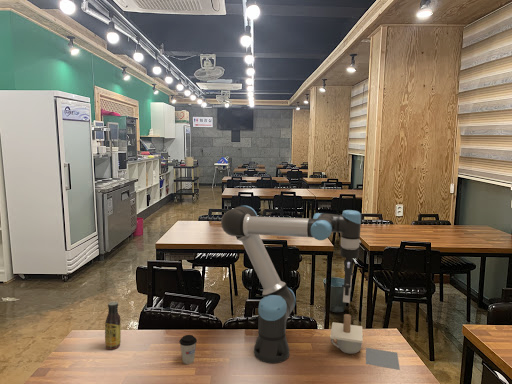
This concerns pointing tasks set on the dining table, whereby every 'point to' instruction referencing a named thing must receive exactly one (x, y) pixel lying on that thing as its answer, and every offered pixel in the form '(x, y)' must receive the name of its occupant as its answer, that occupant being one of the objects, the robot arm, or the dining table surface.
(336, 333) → the lid
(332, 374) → the dining table surface
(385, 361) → the mat
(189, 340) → the coffee cup
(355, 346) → the teacup
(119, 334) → the sauce bottle
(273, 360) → the robot arm
